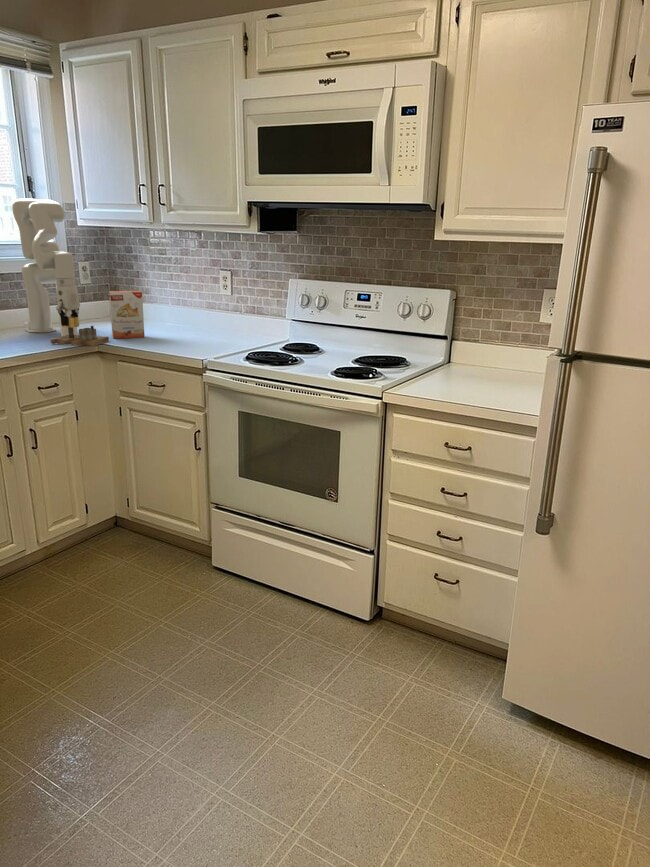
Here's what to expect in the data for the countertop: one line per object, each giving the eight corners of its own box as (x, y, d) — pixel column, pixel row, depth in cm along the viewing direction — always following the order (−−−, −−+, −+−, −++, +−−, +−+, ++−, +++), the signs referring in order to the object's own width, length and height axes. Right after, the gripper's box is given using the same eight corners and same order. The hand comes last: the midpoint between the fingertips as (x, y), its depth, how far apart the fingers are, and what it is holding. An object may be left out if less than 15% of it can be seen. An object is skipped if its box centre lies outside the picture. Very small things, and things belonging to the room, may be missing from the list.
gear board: (50, 343, 277) (48, 326, 275) (68, 339, 289) (66, 322, 287) (93, 346, 274) (91, 328, 271) (108, 341, 286) (107, 324, 284)
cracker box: (113, 339, 292) (109, 292, 285) (112, 337, 297) (108, 290, 291) (145, 337, 297) (142, 291, 291) (143, 335, 302) (140, 290, 296)
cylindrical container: (77, 337, 295) (71, 281, 288) (60, 337, 293) (54, 281, 285) (78, 334, 302) (72, 280, 294) (61, 335, 299) (55, 280, 292)
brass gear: (58, 327, 278) (57, 317, 276) (67, 325, 284) (66, 315, 283) (73, 328, 276) (72, 318, 275) (82, 325, 283) (81, 316, 282)
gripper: (62, 284, 266) (66, 327, 271) (85, 281, 282) (89, 322, 287) (45, 283, 267) (50, 326, 272) (69, 280, 283) (73, 321, 289)
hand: (70, 324), depth 280 cm, fingers closed on brass gear, 7 cm apart
